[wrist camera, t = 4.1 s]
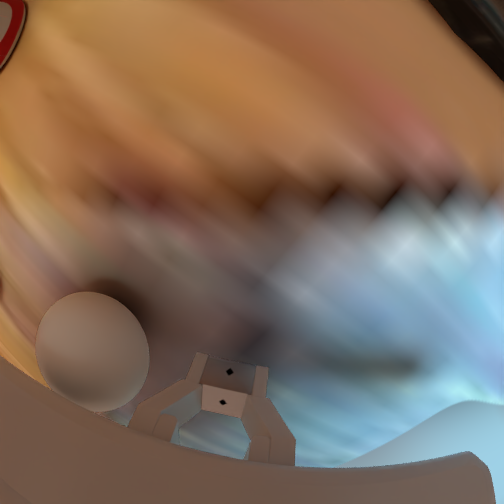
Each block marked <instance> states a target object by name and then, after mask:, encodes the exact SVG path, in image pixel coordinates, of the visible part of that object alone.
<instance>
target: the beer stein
mask: <svg viewBox="0 0 504 504" xmlns="http://www.w3.org/2000/svg"><path fill="white" fill-rule="evenodd" d="M429 1H430V2H431V4H432V5H433V6H434V7H435V8H436V9H437V11H438V12H439V13H440V14H441V16H442V17H443V18H444V19H445V21H446V22H447V23H448V24H449V26H450V27H451V28H452V30H453V31H454V33H456V34H457V35H458V36H459V37H460V38H461V39H462V40H463V41H464V42H466V43H467V44H468V45H469V46H470V47H471V48H472V49H473V50H474V51H475V52H476V53H477V54H478V55H479V56H480V57H481V58H482V59H483V60H484V61H485V62H486V63H487V64H488V65H489V66H490V68H491V69H492V70H493V71H494V72H495V73H496V74H497V75H498V76H499V78H500V79H501V80H503V81H504V0H429Z"/></svg>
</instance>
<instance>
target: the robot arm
mask: <svg viewBox="0 0 504 504" xmlns="http://www.w3.org/2000/svg"><path fill="white" fill-rule="evenodd" d="M268 373H269V368H268V367H264V366H259V365H254V364H248V363H243V362H238V361H232V360H228V359H224V358H220V357H216V356H212V355H207V354H204V353H200V352H197V353H196V354H195V357H194V359H193V362H192V364H191V367H190V369H189V372H188V374H187V377H186V379H185V380H183V379H181V380H179V381H178V382H176V383H174V384H173V385H171V386H169V387H168V388H166V389H164V390H162V391H161V392H159V393H157V394H155V395H154V396H152V397H150V398H148V399H146V400H145V401H143V402H141V403H139V405H138V407H137V409H136V411H135V413H134V415H133V417H132V419H131V421H130V423H129V425H128V427H125V426H123V425H120V424H118V423H116V422H113V421H111V420H109V419H107V418H104V417H102V416H100V415H98V414H96V413H94V412H91V411H89V410H87V409H85V408H83V407H81V406H79V405H77V404H76V403H74V402H72V401H70V400H68V399H66V398H64V397H63V396H61V395H59V394H57V393H56V392H54V391H52V390H50V389H49V388H47V387H46V386H44V385H42V384H41V383H39V382H38V381H36V380H34V379H33V378H31V377H30V376H28V375H27V374H25V373H24V372H22V371H21V370H20V369H18V368H17V367H15V366H14V365H13V364H11V363H10V362H8V361H7V360H6V359H4V358H3V357H2V356H1V355H0V504H496V500H495V493H494V487H493V482H492V477H491V474H490V471H489V469H488V467H487V466H486V465H485V463H484V462H482V461H481V460H480V459H479V458H478V457H477V456H476V455H474V454H473V453H472V452H469V451H465V452H461V453H457V454H453V455H448V456H444V457H439V458H435V459H429V460H423V461H418V462H411V463H403V464H395V465H385V466H373V467H354V468H320V467H300V466H295V446H296V439H295V438H294V436H293V435H292V433H291V432H290V430H289V429H288V427H287V426H286V424H285V422H284V421H283V419H282V418H281V416H280V415H279V413H278V412H277V410H276V408H275V407H274V405H273V404H272V402H271V400H270V399H269V398H266V391H267V382H268ZM201 410H206V411H210V412H215V413H220V414H224V415H228V416H233V417H237V418H241V421H242V423H243V425H244V427H245V430H246V432H247V434H248V436H249V438H250V440H251V441H250V444H249V446H248V449H247V451H246V453H245V456H244V458H243V460H242V459H236V458H231V457H226V456H221V455H216V454H212V453H207V452H203V451H199V450H195V449H192V448H188V447H184V446H181V445H180V441H179V429H178V428H180V427H181V426H182V425H183V424H185V423H186V422H187V421H188V420H190V419H191V418H192V417H194V416H195V415H196V414H197V413H198V412H200V411H201Z"/></svg>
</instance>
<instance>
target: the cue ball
mask: <svg viewBox="0 0 504 504" xmlns="http://www.w3.org/2000/svg"><path fill="white" fill-rule="evenodd" d="M35 349H36V357H37V362H38V366H39V368H40V371H41V373H42V375H43V377H44V379H45V381H46V382H47V384H48V385H49V387H50V388H51V389H52V390H53V391H54V392H56V393H57V394H59V395H61V396H63V397H64V398H66V399H68V400H70V401H72V402H74V403H76V404H77V405H79V406H81V407H83V408H85V409H87V410H89V411H91V412H105V411H111V410H114V409H117V408H119V407H121V406H123V405H125V404H127V403H128V402H129V401H131V400H132V399H133V398H134V397H135V396H136V395H137V394H138V393H139V391H140V389H141V388H142V386H143V384H144V382H145V380H146V378H147V374H148V370H149V361H150V355H149V346H148V342H147V338H146V335H145V333H144V331H143V329H142V327H141V325H140V323H139V321H138V320H137V319H136V317H135V316H134V315H133V314H132V312H131V311H130V310H129V309H127V308H126V307H125V306H124V305H123V304H122V303H120V302H119V301H117V300H115V299H114V298H112V297H109V296H107V295H104V294H101V293H96V292H77V293H73V294H70V295H67V296H65V297H63V298H61V299H59V300H58V301H57V302H55V303H54V304H53V305H52V306H51V307H50V308H49V309H48V310H47V311H46V313H45V314H44V316H43V317H42V319H41V322H40V324H39V326H38V330H37V334H36V342H35Z"/></svg>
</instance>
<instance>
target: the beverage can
mask: <svg viewBox="0 0 504 504" xmlns="http://www.w3.org/2000/svg"><path fill="white" fill-rule="evenodd" d="M25 15H26V9H25V6H24V2H23V1H22V0H0V69H1V67H2V66H3V65H4V63H5V62H6V60H7V59H8V57H9V56H10V54H11V52H12V50H13V49H14V47H15V45H16V42H17V40H18V38H19V36H20V33H21V31H22V28H23V25H24V21H25Z"/></svg>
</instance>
